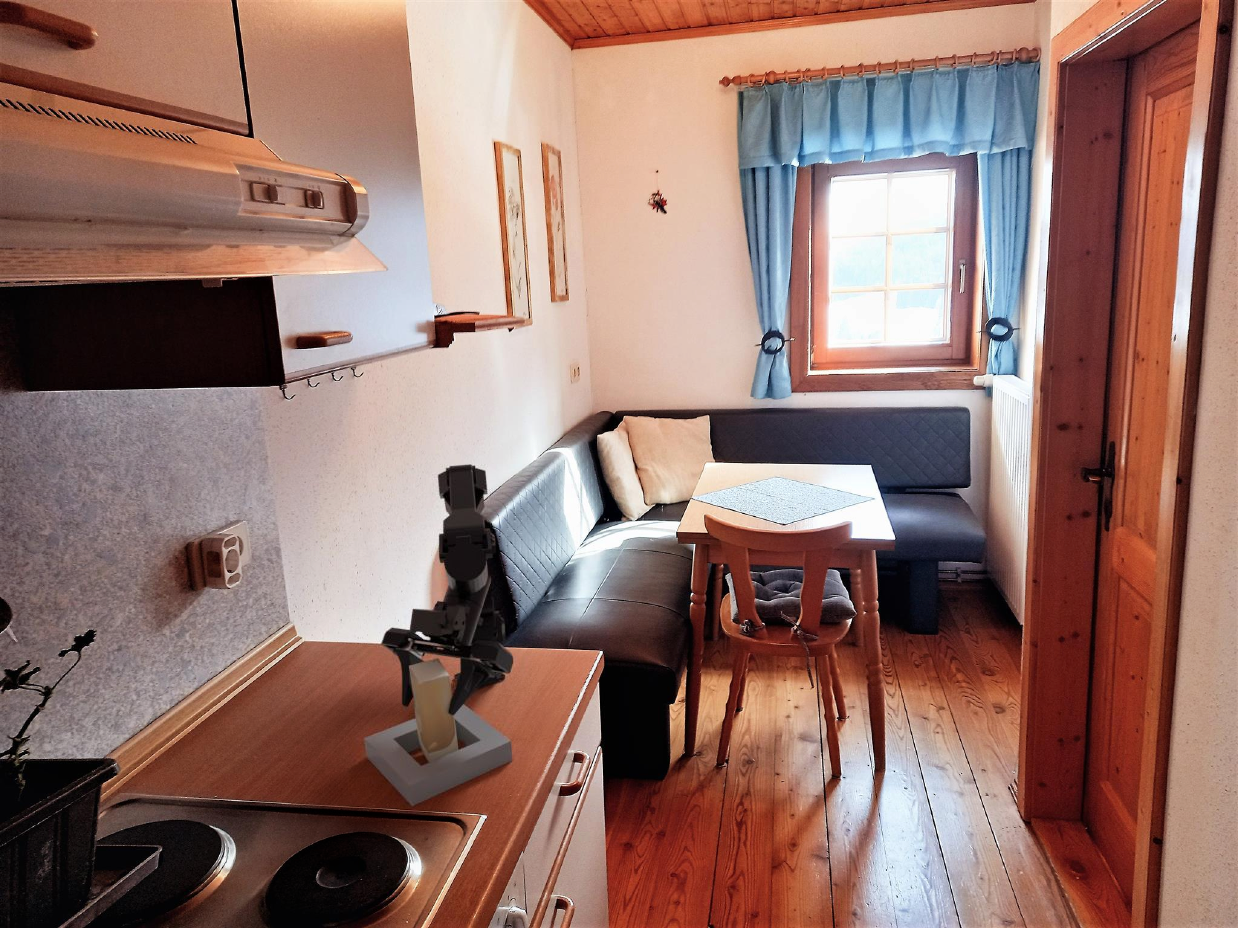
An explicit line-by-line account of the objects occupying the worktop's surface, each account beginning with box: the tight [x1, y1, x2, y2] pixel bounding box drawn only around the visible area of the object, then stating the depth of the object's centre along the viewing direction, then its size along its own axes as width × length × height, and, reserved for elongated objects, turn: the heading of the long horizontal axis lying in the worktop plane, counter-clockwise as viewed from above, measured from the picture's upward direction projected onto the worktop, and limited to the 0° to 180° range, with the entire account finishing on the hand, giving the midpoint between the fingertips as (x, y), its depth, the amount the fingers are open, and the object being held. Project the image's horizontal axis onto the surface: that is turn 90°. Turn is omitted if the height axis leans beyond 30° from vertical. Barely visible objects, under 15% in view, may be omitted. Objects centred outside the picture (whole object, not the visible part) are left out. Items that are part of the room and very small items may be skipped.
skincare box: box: [409, 657, 459, 763], centre depth 116 cm, size 6×4×12 cm
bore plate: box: [363, 703, 514, 807], centre depth 117 cm, size 15×15×3 cm
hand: (427, 710), depth 114 cm, fingers closed on skincare box, 7 cm apart
